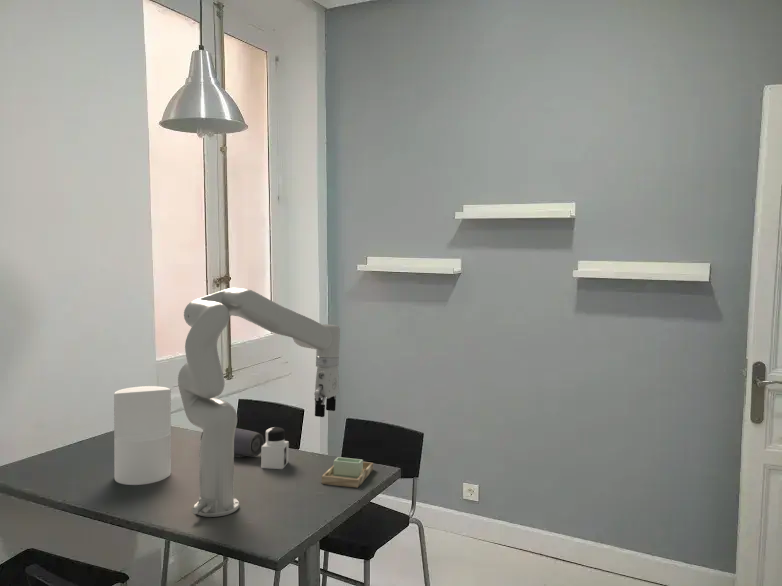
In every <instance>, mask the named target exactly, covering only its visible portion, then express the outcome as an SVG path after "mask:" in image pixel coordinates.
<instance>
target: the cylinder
mask: <svg viewBox="0 0 782 586" xmlns="http://www.w3.org/2000/svg"><path fill="white" fill-rule="evenodd" d="M171 393H172V389H171V388H169V387H166V386H159V385H146V386H145V385H143V386H142V385H141V386H134V387H133V386H132V387H125V388H121V389H118V390H116V391H114V393H113V412H114V414H113V415H114V416H113V420H114V421H113V423H114V424H113V427H114V428H113V431H114V432H113V434H114V435H113V436H114V437H113V439H114V440H113V441H114V443H113V445H114V450H113V451H114V455H113V457H114V466H113V468H114V473H113V474H114V477H113V479H114V481H115V482H116V483H118V484H121V485H129V486H138V485H139V486H140V485H149V484H153V483H157V482H160V481H163V480H165V479H167V478H168V477H170V475H171V474H172V468H171V467H172V466H171V465H172V464H171V463H172V461H171V459H172V452H171V451H172V448H171V447H172V445H171V444H172V441H171V439H172V436H171V435H172V433H171V431H172V427H171V426H172V425H171V424H172V417H171V416H172V408H171V405H172V403H171V401H172V399H171V398H172V394H171Z"/></svg>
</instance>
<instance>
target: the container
mask: <svg viewBox="0 0 782 586" xmlns="http://www.w3.org/2000/svg"><path fill="white" fill-rule="evenodd" d="M285 435H286V431H285V429H284V428H283V427H278V426H274V427H270V428H268V429H266V430H265V442H264V445H263V446H262V447H261V453H260V456H261V457H260V458H261V459H260V460H261V461H260V467H261V469H268V470H269V469H270V470H271V469H272V470H273V469H274V470H283V469H284V468H285V467H286V465H287V464H288V463H289V447H290V443H289V441H288V440H286V436H285Z"/></svg>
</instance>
